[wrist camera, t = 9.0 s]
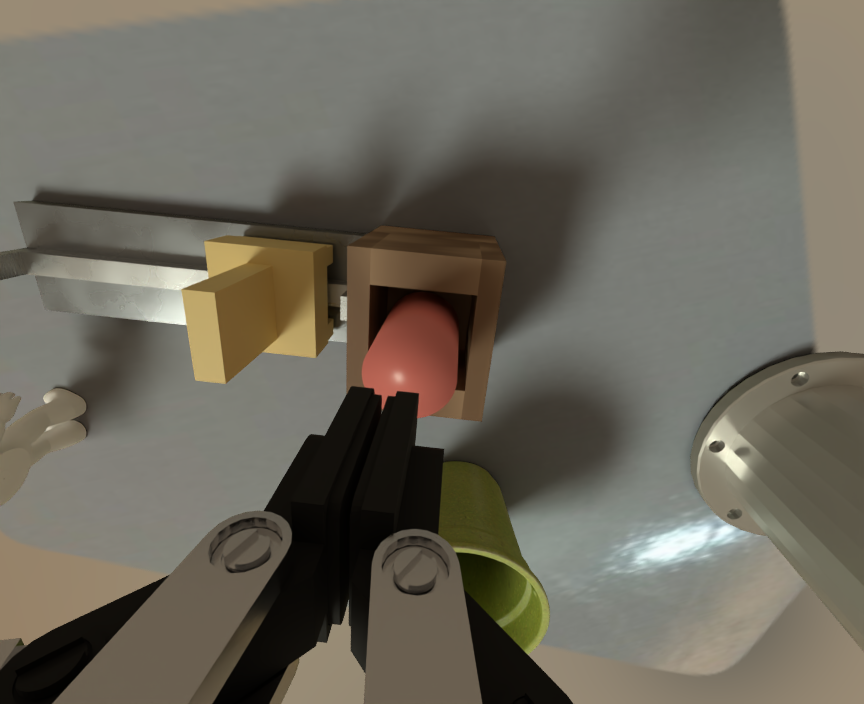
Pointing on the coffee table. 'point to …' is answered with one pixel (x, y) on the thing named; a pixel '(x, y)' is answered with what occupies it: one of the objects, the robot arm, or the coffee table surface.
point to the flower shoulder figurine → (36, 435)
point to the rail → (142, 259)
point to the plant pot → (491, 553)
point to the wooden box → (435, 273)
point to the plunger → (416, 352)
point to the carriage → (257, 304)
